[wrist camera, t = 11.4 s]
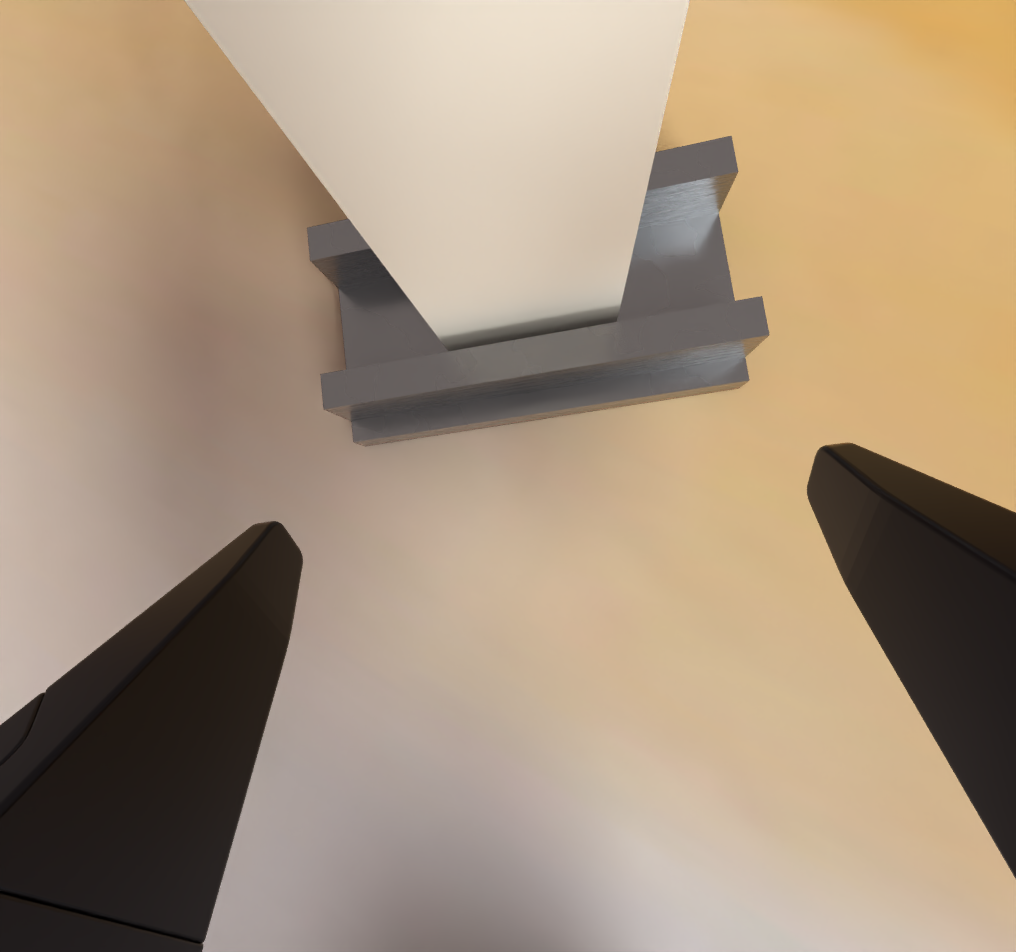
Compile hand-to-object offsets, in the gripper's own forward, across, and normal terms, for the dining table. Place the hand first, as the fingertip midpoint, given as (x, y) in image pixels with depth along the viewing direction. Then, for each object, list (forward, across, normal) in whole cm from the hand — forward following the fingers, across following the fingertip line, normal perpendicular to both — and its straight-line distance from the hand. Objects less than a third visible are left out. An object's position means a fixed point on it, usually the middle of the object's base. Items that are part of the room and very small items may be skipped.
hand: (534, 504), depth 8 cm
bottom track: (+12, 0, +1) cm, 12 cm away
